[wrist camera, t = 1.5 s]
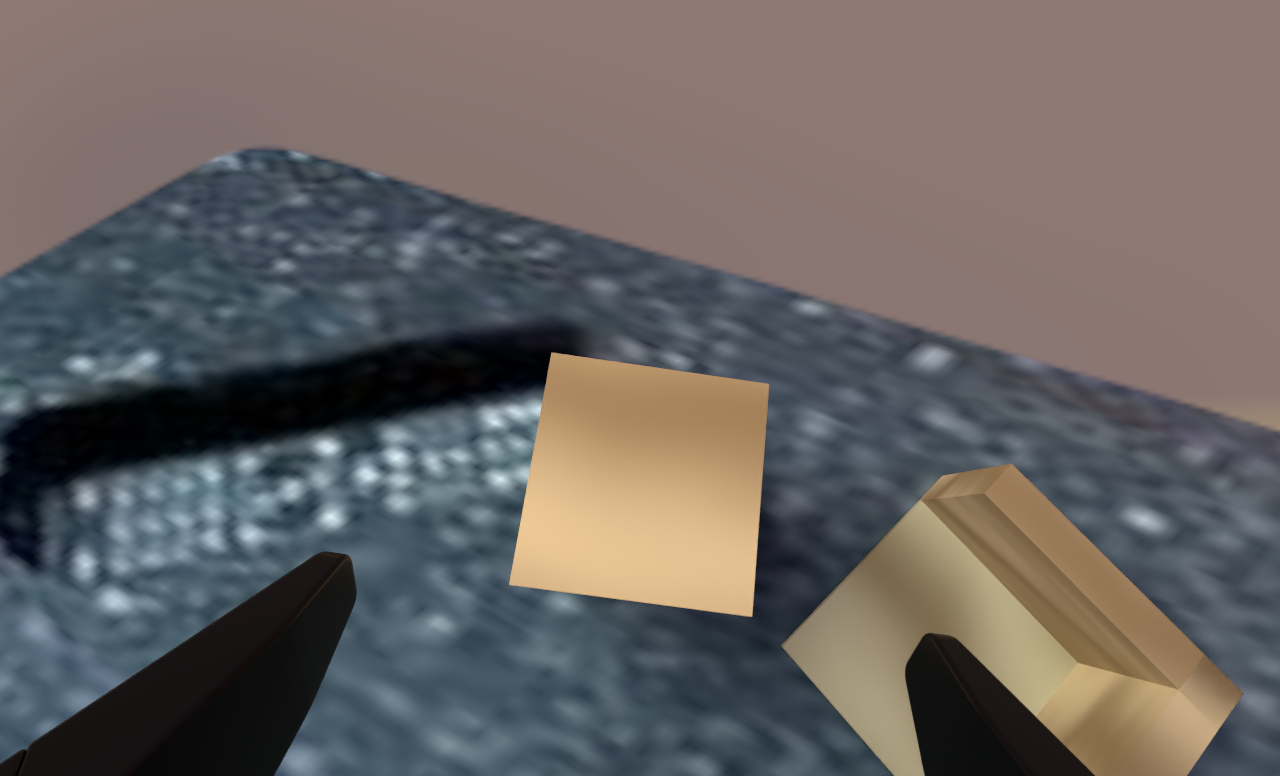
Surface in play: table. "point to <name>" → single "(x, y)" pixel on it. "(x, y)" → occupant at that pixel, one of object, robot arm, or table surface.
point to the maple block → (645, 486)
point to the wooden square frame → (1013, 632)
